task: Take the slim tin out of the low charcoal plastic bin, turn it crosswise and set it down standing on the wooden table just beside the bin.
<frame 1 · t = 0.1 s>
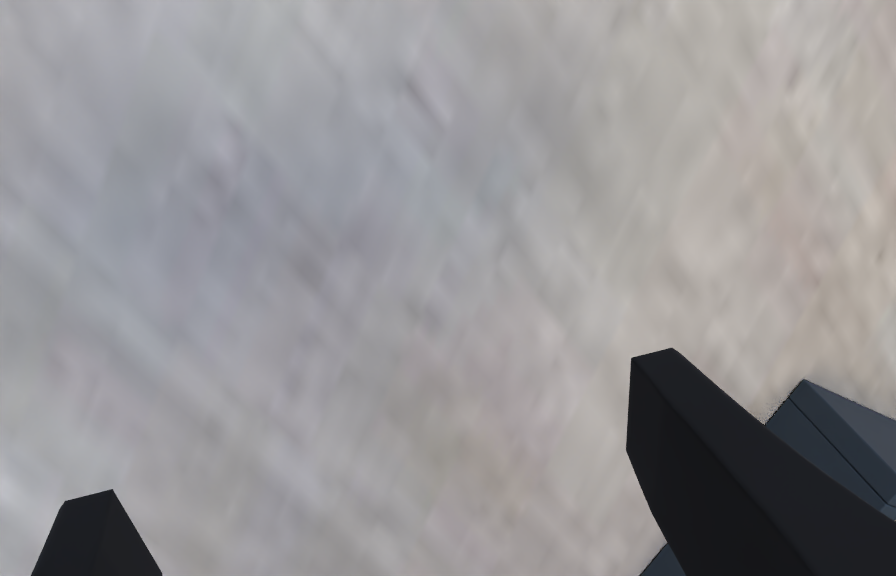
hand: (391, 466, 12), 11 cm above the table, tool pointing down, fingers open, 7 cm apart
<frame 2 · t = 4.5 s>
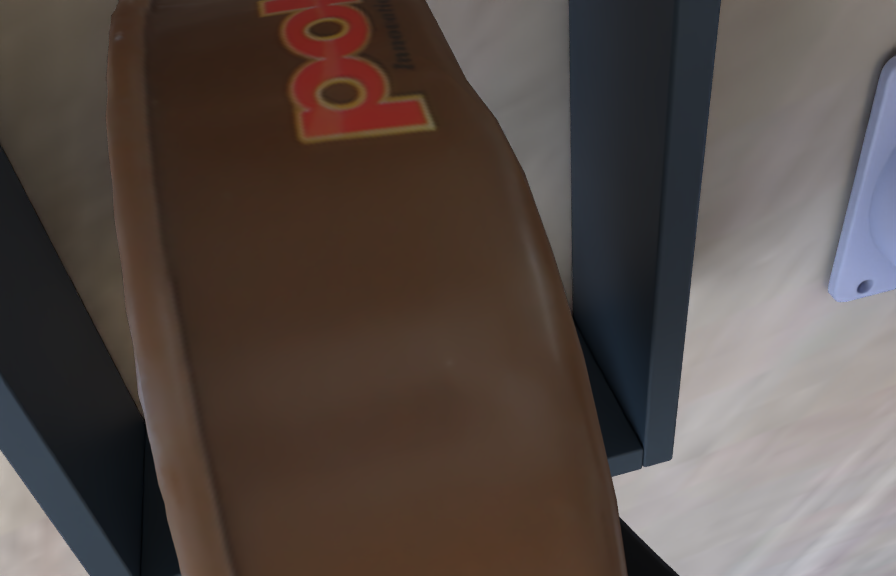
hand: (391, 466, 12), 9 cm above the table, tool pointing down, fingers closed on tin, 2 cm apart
tin: (380, 335, 14), point 6 cm above the table, touching gripper
bin: (288, 54, 18), on the table
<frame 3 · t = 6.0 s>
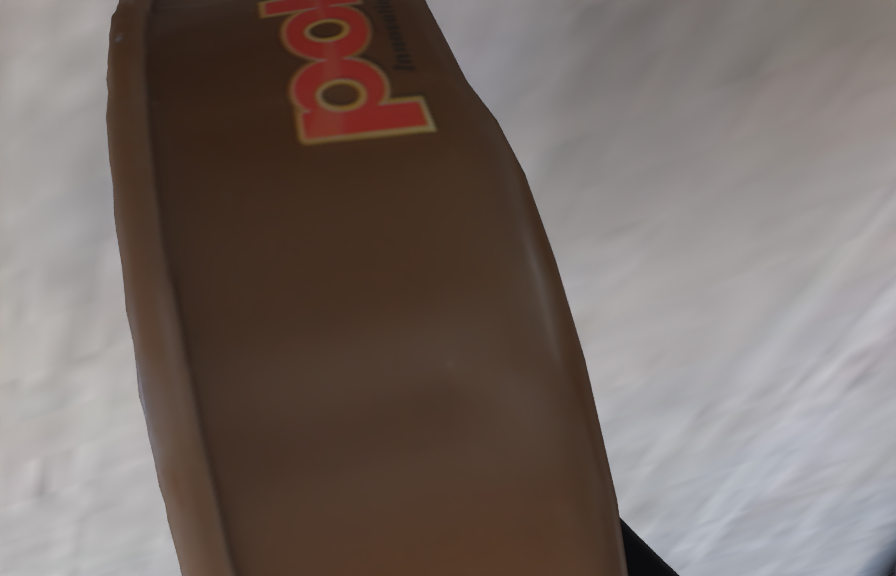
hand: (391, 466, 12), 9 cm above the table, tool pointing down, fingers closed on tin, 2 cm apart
tin: (380, 336, 14), point 7 cm above the table, touching gripper
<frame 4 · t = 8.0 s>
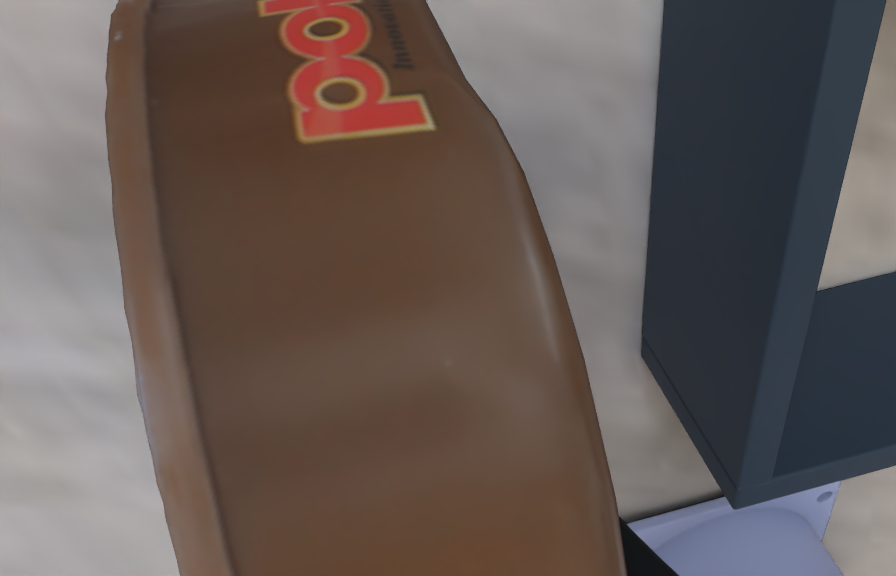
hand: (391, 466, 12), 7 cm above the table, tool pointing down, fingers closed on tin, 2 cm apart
tin: (381, 336, 14), point 4 cm above the table, touching gripper
when the fingers open (3 cm above the table, at t = 9.5 s): tin stays where it is, on the table.
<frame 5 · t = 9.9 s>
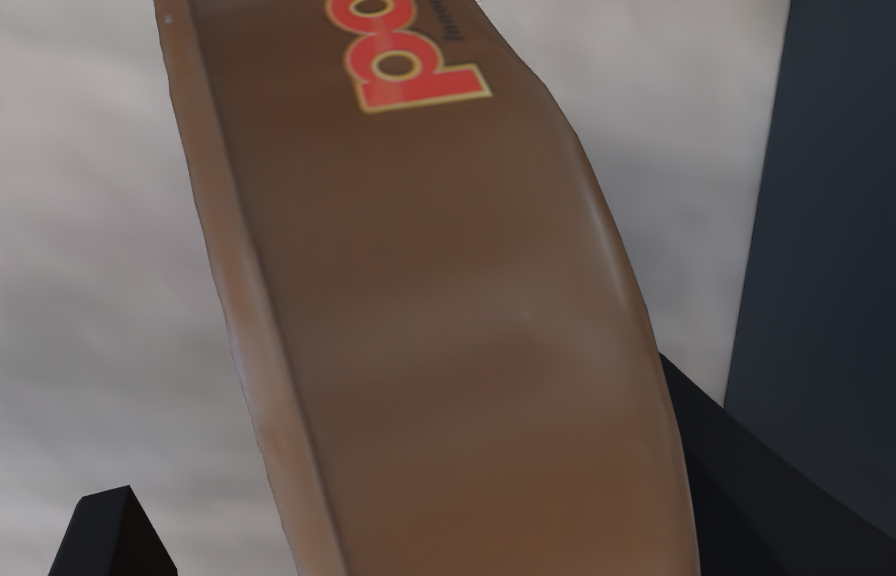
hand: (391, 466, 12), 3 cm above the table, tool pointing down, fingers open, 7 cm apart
tin: (378, 327, 14), on the table
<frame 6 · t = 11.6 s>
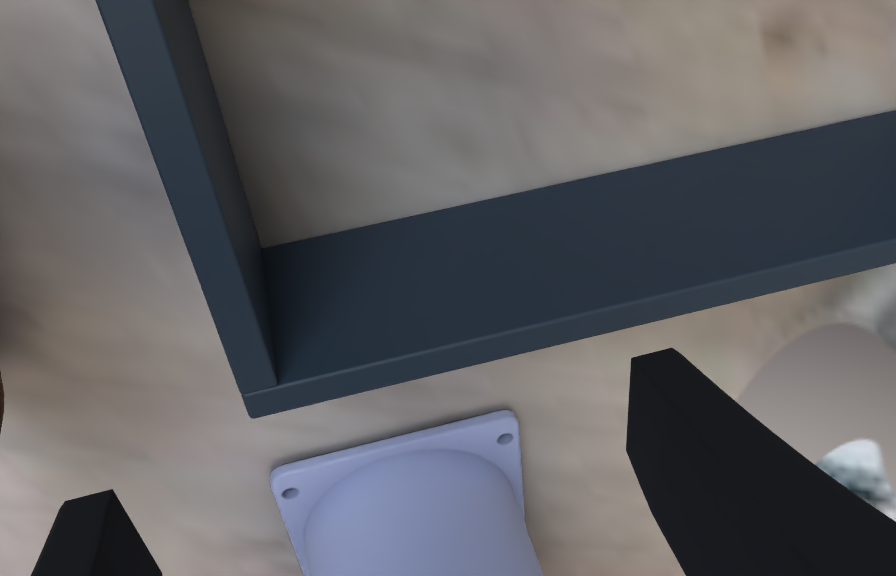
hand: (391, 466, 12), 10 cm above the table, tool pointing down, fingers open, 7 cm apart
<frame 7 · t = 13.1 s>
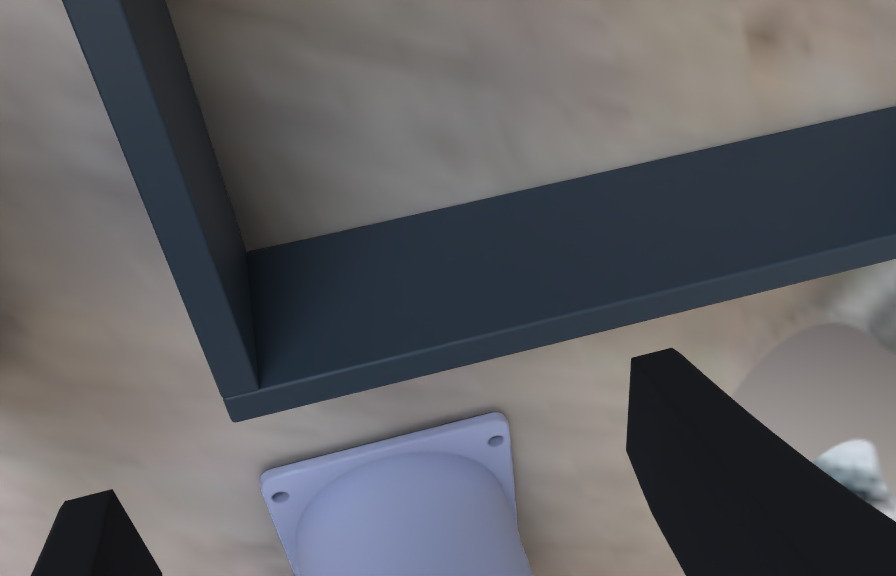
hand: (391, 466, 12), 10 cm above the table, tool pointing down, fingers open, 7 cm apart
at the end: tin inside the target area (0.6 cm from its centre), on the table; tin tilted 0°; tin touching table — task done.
